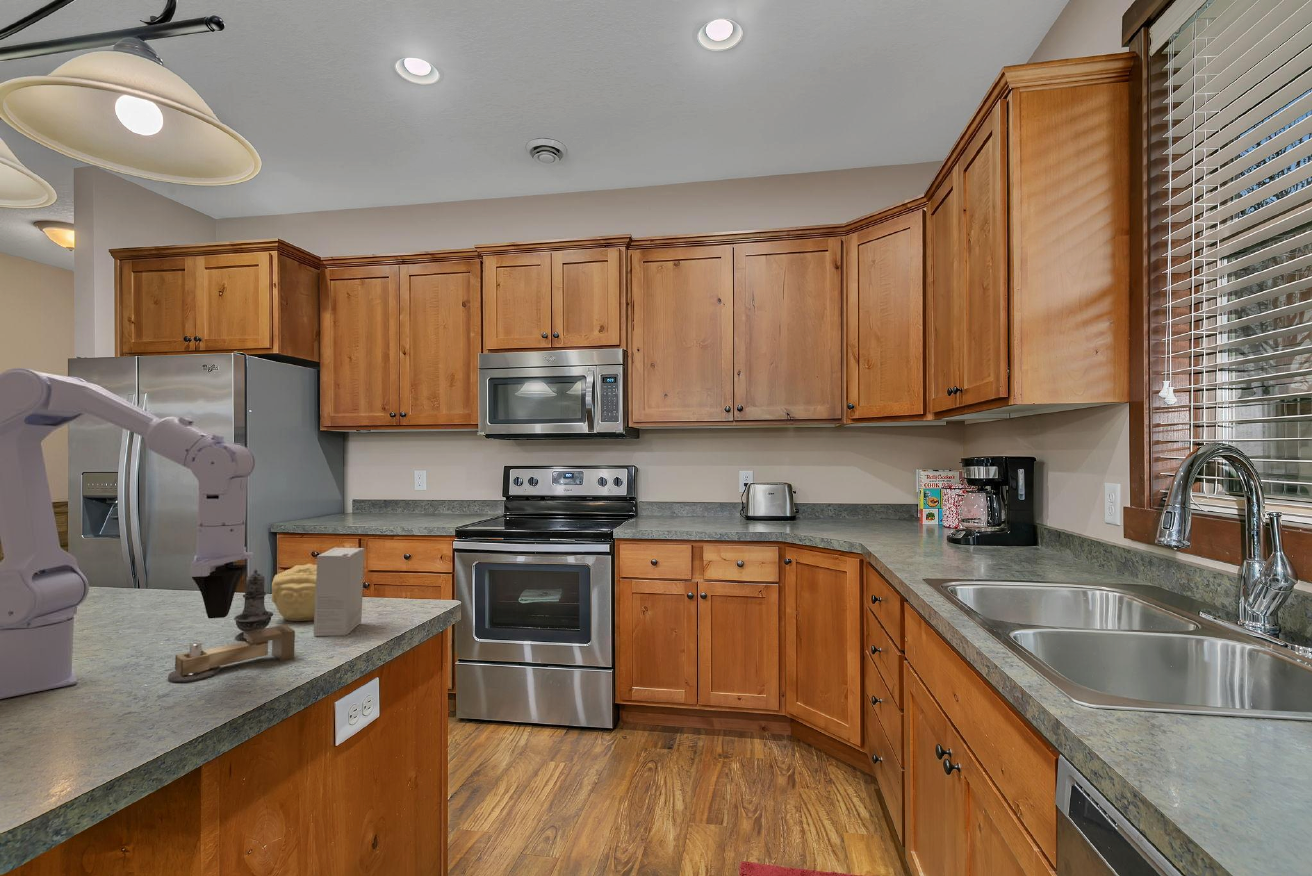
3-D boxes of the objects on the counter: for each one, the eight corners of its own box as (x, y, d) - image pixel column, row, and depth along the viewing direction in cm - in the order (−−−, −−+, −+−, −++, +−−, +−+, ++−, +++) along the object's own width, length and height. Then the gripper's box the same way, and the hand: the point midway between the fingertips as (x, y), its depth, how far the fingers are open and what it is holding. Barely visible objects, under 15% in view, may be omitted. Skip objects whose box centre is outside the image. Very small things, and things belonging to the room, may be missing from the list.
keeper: (251, 667, 90) (252, 638, 90) (242, 660, 93) (243, 632, 93) (294, 658, 94) (294, 630, 94) (284, 651, 97) (285, 624, 97)
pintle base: (172, 686, 82) (173, 653, 82) (164, 675, 86) (166, 644, 86) (224, 674, 87) (225, 644, 87) (214, 664, 91) (215, 635, 91)
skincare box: (330, 624, 113) (332, 547, 114) (363, 623, 114) (365, 546, 115) (312, 637, 105) (314, 554, 105) (348, 636, 106) (350, 553, 106)
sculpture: (261, 626, 111) (263, 569, 112) (290, 610, 123) (292, 559, 124) (326, 624, 113) (328, 568, 114) (348, 609, 125) (350, 558, 125)
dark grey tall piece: (276, 629, 109) (278, 565, 109) (268, 639, 104) (270, 571, 104) (238, 631, 107) (241, 566, 107) (228, 642, 102) (231, 573, 102)
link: (182, 675, 84) (183, 660, 84) (175, 669, 86) (175, 654, 86) (268, 655, 92) (269, 641, 93) (260, 650, 95) (260, 637, 95)
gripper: (234, 529, 81) (230, 628, 81) (269, 519, 95) (265, 603, 94) (173, 530, 79) (169, 632, 78) (217, 519, 93) (214, 606, 92)
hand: (218, 617), depth 86 cm, fingers closed
